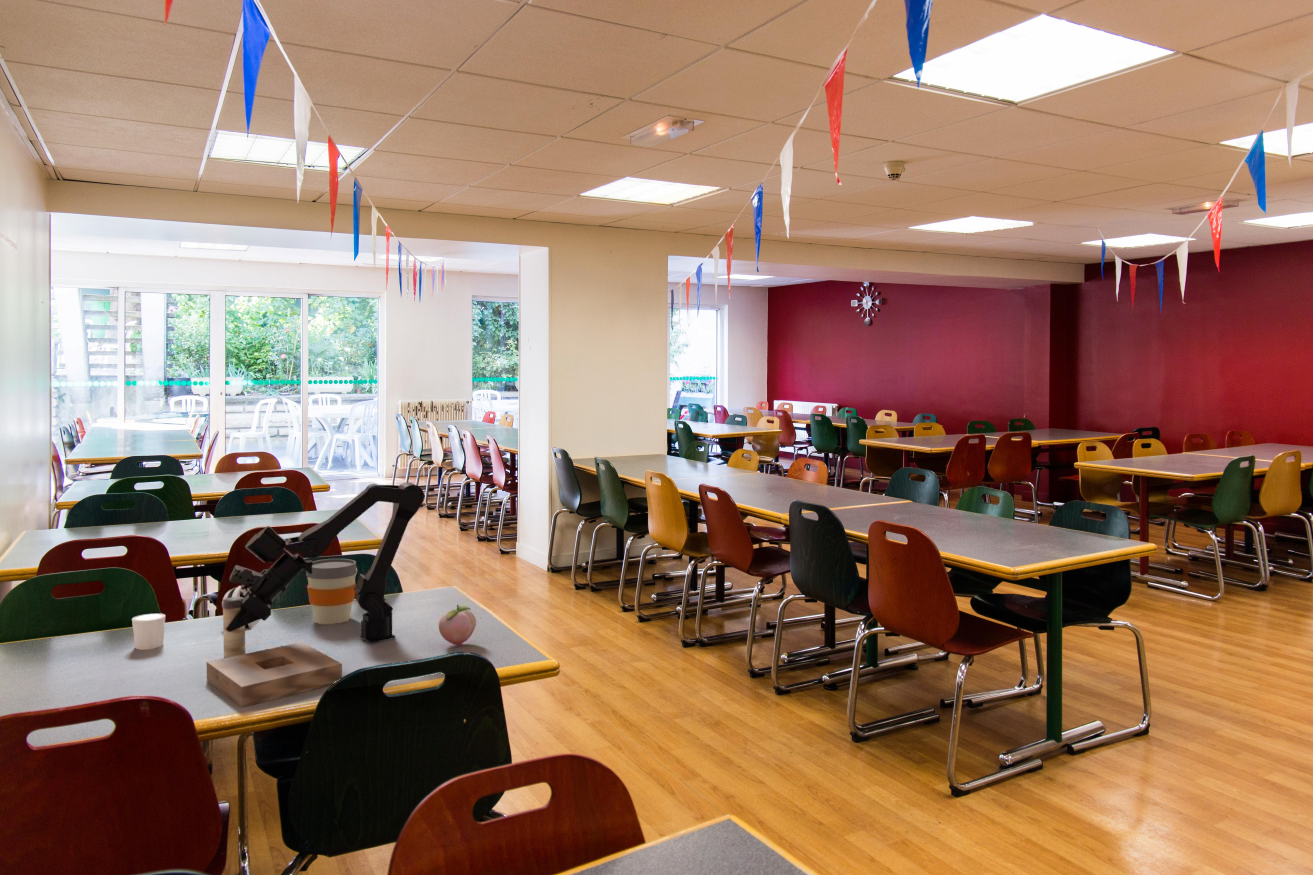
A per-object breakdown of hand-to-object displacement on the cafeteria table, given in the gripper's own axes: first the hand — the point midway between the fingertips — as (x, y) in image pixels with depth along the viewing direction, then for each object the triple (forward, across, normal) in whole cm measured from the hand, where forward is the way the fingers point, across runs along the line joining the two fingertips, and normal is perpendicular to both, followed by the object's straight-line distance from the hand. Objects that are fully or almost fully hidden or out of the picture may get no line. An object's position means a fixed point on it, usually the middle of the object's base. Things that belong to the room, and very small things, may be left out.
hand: (227, 627), depth 194 cm
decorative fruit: (-30, +13, +39) cm, 51 cm away
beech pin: (+4, 0, +6) cm, 7 cm away
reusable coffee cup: (-13, -22, +22) cm, 34 cm away
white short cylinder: (+16, -16, -7) cm, 24 cm away
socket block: (-1, +22, +11) cm, 24 cm away
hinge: (+2, -31, +8) cm, 32 cm away
